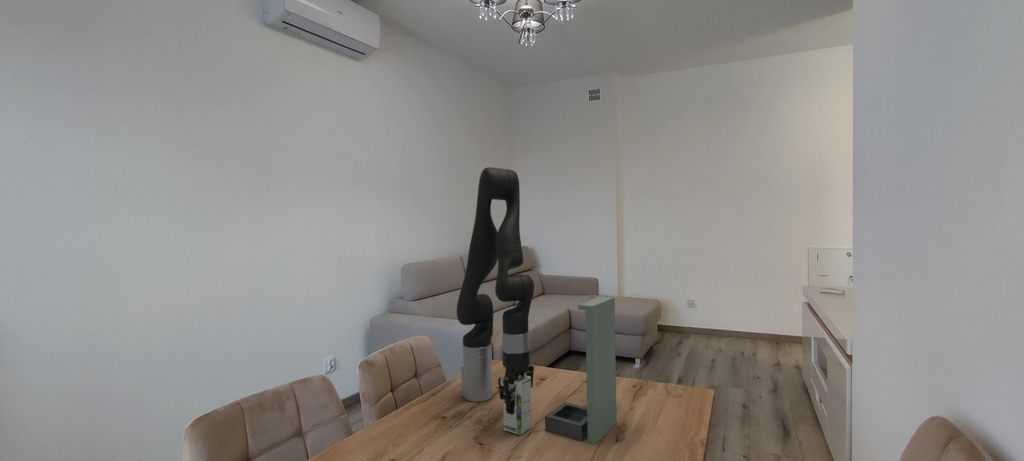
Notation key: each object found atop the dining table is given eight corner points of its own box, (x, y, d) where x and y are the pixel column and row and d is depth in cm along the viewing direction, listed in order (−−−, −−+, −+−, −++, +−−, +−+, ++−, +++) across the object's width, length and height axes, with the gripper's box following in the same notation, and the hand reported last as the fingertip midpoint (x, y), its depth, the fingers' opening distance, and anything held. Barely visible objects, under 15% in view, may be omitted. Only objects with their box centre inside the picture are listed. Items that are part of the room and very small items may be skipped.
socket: (545, 430, 123) (544, 416, 123) (564, 415, 132) (564, 402, 132) (581, 441, 117) (581, 426, 117) (599, 424, 126) (599, 410, 125)
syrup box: (502, 430, 123) (501, 377, 123) (515, 422, 128) (514, 371, 128) (519, 436, 120) (518, 382, 119) (532, 427, 125) (531, 375, 124)
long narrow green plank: (580, 440, 117) (578, 304, 116) (603, 419, 129) (601, 296, 128) (595, 444, 115) (592, 306, 114) (616, 423, 126) (614, 297, 125)
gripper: (519, 340, 131) (520, 397, 132) (488, 352, 120) (490, 415, 120) (541, 343, 127) (542, 403, 127) (511, 357, 115) (513, 422, 116)
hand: (517, 408), depth 124 cm, fingers closed on syrup box, 6 cm apart
